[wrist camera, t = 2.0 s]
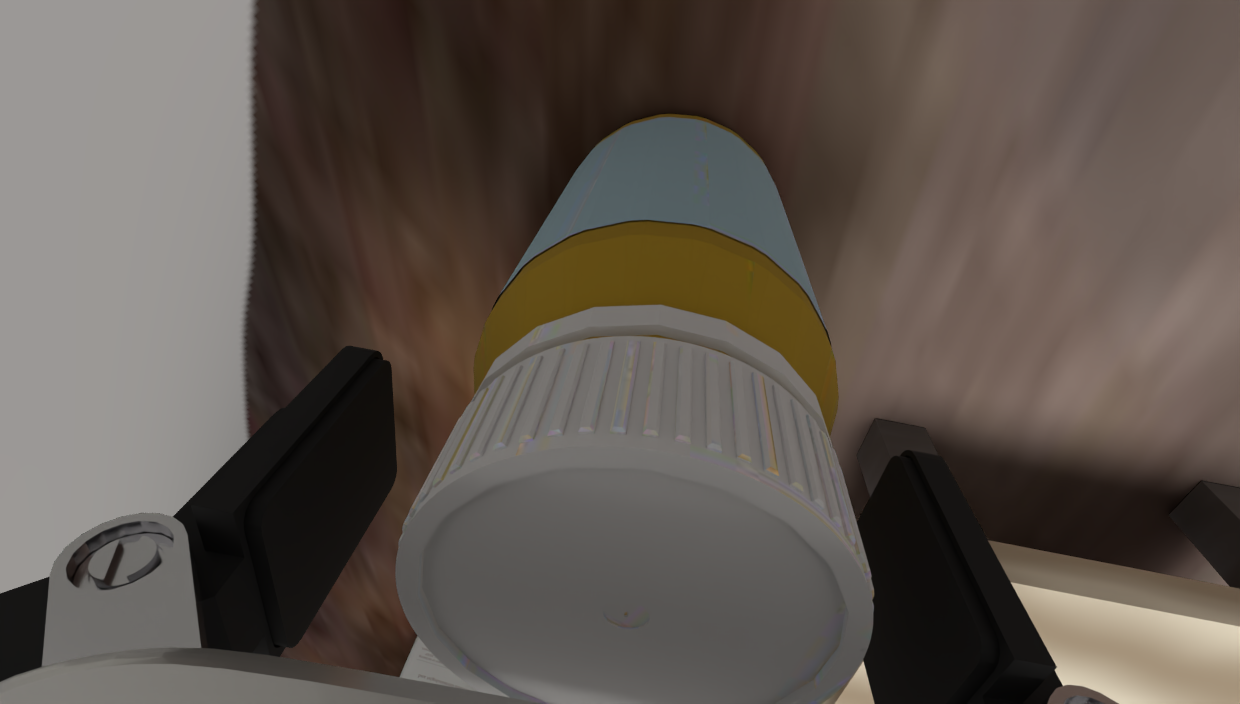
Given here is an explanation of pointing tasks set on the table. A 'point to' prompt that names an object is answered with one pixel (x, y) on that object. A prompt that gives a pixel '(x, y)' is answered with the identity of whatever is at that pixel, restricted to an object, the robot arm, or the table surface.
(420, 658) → the supplement box
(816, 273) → the table surface
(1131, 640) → the footstool
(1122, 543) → the table surface
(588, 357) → the bottle
